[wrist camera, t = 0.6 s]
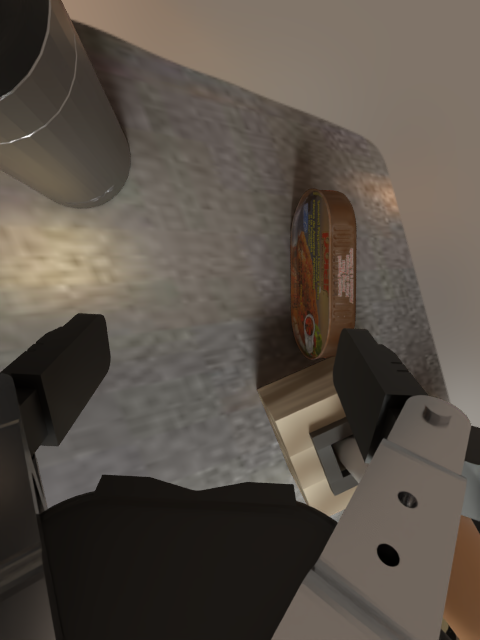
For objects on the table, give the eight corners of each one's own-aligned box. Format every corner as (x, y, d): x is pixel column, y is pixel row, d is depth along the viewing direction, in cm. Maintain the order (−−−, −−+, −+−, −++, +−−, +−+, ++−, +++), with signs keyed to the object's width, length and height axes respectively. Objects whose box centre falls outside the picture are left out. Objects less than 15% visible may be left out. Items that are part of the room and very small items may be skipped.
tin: (289, 201, 33) (322, 174, 25) (320, 202, 33) (362, 175, 25) (290, 349, 35) (320, 370, 26) (318, 348, 35) (357, 368, 27)
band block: (256, 389, 34) (277, 425, 26) (341, 352, 35) (389, 374, 27) (289, 470, 36) (319, 529, 27) (370, 432, 37) (424, 478, 28)
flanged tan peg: (304, 428, 28) (612, 832, 7) (362, 401, 29) (803, 711, 8) (326, 483, 29) (655, 981, 8) (382, 456, 29) (824, 865, 9)
